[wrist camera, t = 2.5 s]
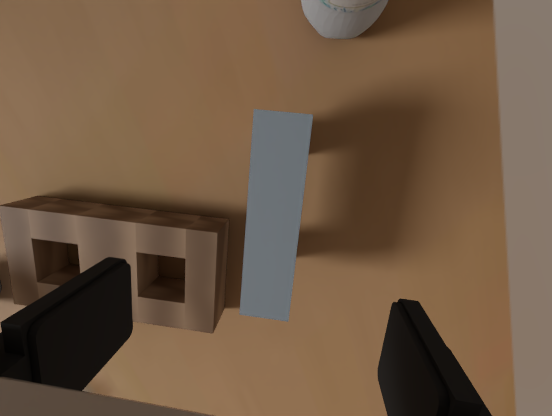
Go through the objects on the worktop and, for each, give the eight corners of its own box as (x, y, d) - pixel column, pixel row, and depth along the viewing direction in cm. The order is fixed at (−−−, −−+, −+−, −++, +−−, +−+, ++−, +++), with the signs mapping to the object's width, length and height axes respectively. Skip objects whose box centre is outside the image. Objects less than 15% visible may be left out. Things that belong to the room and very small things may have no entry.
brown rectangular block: (48, 283, 33) (14, 303, 30) (37, 196, 31) (-2, 205, 27) (224, 308, 32) (212, 333, 28) (229, 219, 29) (217, 232, 25)
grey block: (271, 115, 26) (253, 109, 18) (311, 119, 26) (313, 114, 18) (258, 260, 30) (239, 314, 22) (293, 265, 30) (288, 321, 21)
